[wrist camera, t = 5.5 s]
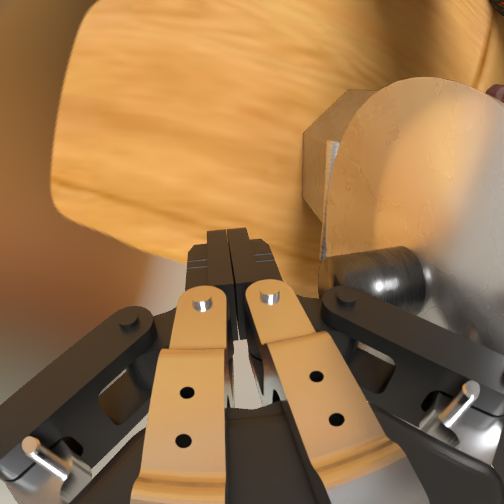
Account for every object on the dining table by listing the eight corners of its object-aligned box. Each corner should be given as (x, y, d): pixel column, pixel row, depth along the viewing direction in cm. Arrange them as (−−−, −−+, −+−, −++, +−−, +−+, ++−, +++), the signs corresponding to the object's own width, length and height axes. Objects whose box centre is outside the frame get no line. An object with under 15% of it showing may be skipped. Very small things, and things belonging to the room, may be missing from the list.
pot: (303, 86, 20) (346, 85, 13) (461, 110, 21) (520, 127, 14) (300, 237, 26) (330, 292, 19) (443, 226, 28) (488, 265, 21)
